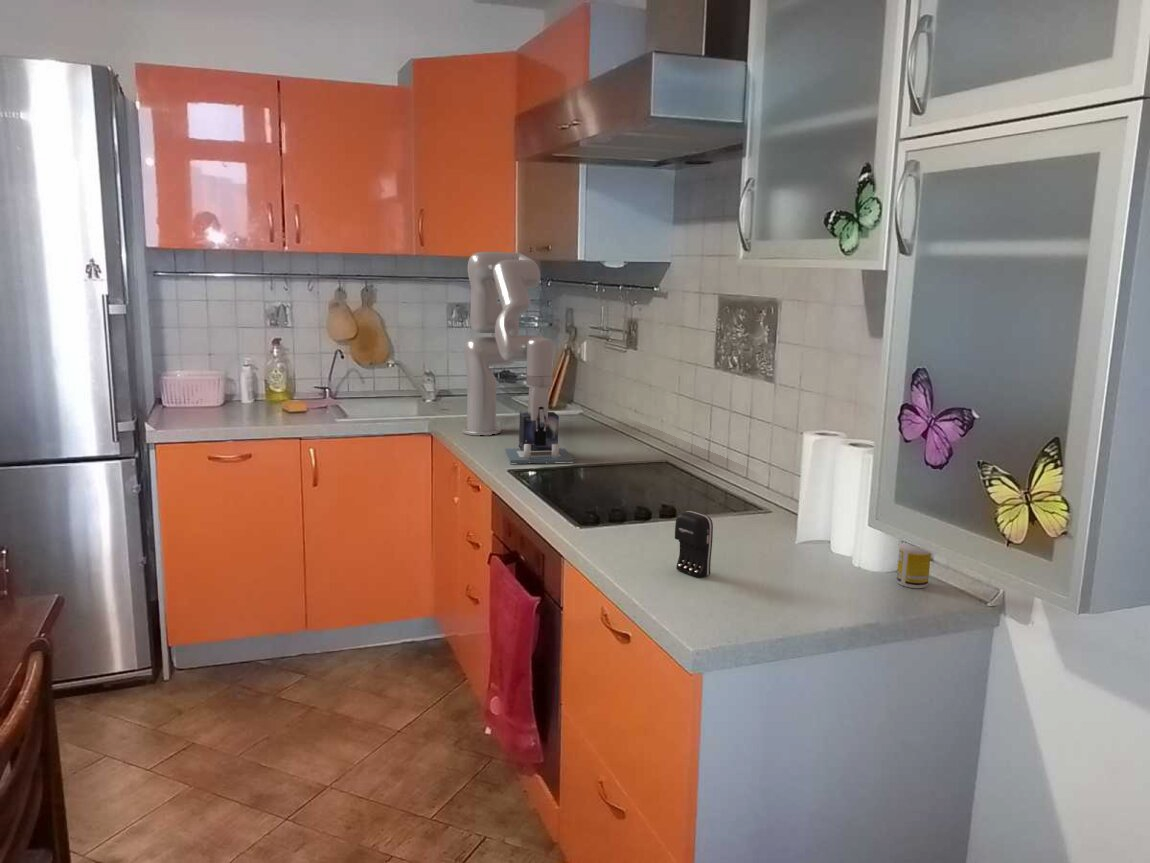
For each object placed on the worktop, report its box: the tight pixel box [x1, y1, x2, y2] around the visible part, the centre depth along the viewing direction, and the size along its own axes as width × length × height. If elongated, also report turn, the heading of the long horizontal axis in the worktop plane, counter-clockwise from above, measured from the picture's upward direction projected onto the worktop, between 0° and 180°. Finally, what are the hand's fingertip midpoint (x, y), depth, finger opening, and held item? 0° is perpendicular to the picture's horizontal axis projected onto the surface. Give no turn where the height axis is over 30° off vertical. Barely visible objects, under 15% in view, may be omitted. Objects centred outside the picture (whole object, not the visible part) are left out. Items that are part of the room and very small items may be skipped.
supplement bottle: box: [896, 541, 932, 590], centre depth 165 cm, size 5×5×10 cm
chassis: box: [504, 443, 574, 464], centre depth 264 cm, size 16×18×5 cm
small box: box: [518, 411, 560, 451], centre depth 263 cm, size 11×6×10 cm, turn 105°
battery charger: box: [674, 510, 714, 578], centre depth 168 cm, size 7×4×11 cm, turn 40°
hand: (538, 441), depth 264 cm, fingers closed on small box, 6 cm apart
